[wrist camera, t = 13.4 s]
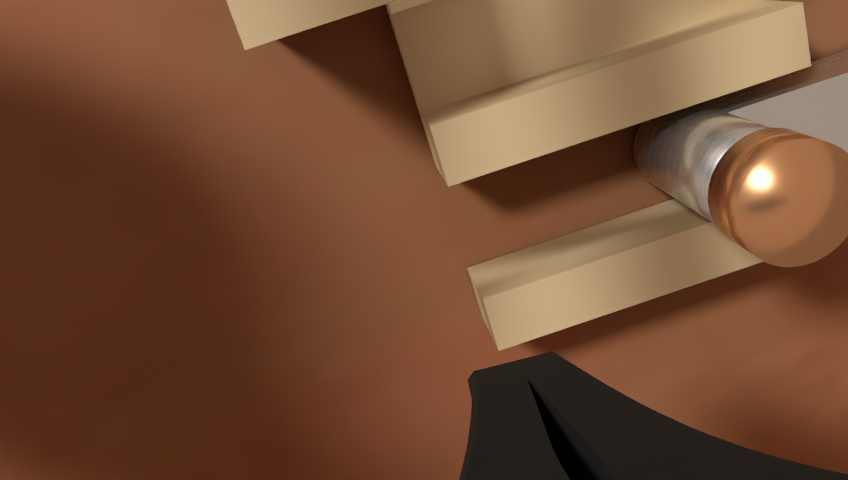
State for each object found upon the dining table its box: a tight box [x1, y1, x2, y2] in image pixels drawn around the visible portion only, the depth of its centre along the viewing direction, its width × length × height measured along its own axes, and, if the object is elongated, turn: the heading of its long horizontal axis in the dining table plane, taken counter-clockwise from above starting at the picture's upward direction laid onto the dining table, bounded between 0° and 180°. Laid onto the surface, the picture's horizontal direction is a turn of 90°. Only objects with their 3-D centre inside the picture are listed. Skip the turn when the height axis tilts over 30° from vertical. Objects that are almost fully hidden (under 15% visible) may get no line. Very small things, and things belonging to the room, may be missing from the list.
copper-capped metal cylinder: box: [634, 50, 848, 267], centre depth 19 cm, size 7×3×6 cm, turn 107°
